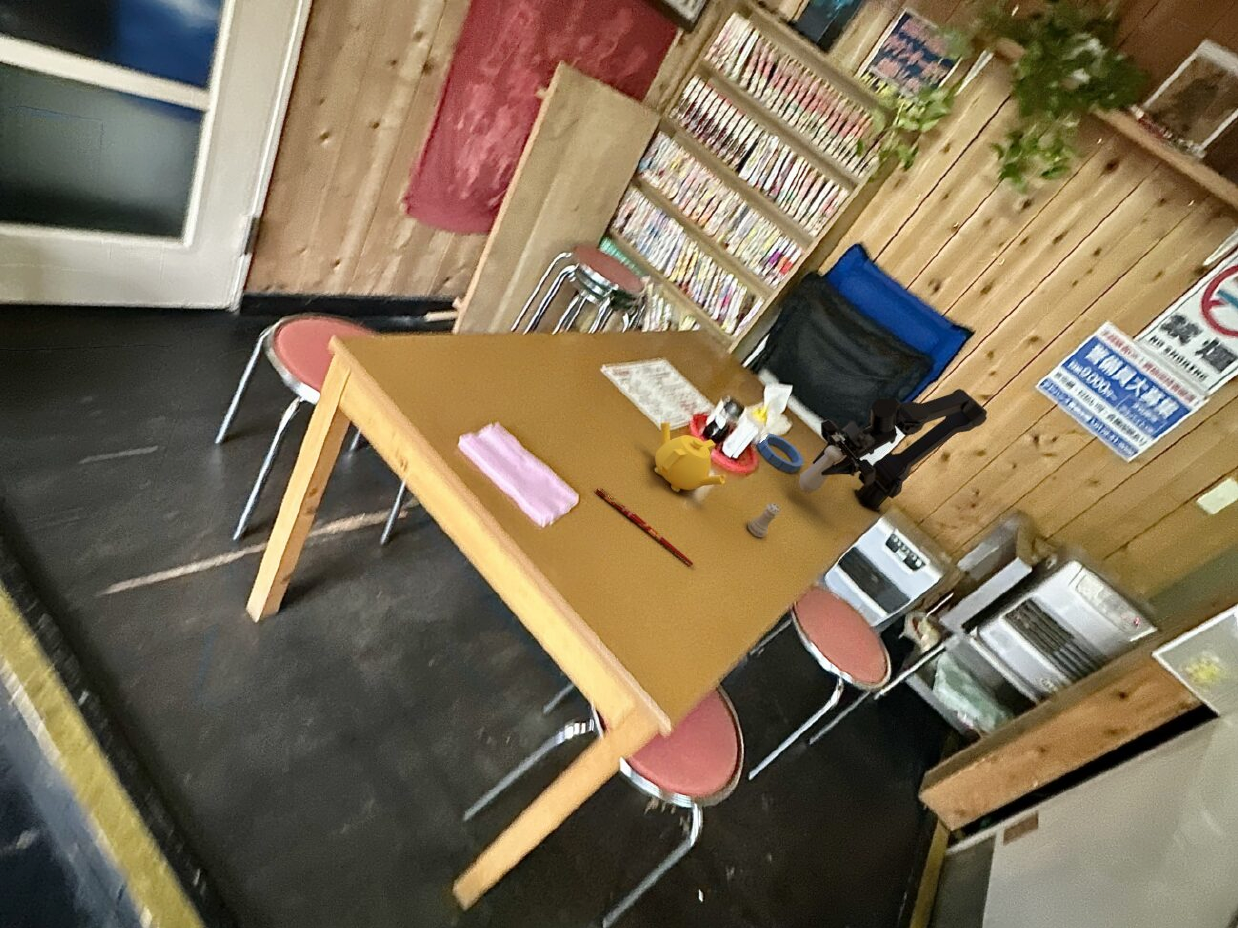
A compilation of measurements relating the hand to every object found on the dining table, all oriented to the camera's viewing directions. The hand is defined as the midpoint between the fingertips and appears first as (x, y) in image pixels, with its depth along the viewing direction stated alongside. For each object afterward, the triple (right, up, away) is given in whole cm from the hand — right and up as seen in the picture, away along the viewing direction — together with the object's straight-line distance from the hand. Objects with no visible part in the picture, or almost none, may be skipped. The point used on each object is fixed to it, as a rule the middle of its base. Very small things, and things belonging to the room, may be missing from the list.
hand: (817, 468), depth 182 cm
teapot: (-36, -2, -14) cm, 39 cm away
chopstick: (-43, -12, -34) cm, 56 cm away
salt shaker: (-2, -5, +4) cm, 7 cm away
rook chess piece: (-18, -14, -14) cm, 27 cm away
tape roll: (-5, +3, +21) cm, 21 cm away
